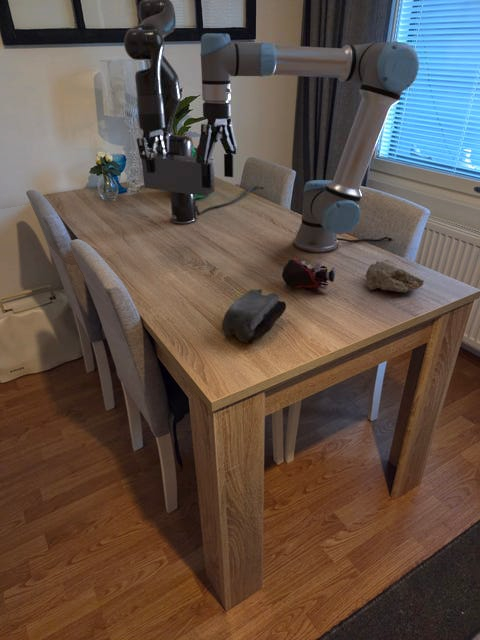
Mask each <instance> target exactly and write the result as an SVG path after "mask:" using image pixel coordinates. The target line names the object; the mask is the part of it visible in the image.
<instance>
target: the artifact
mask: <svg viewBox="0 0 480 640" xmlns="http://www.w3.org/2000/svg"><path fill="white" fill-rule="evenodd" d="M365 278H366V287H368V288H369V290H370V291H373V290H376V289H381V291H392V292H397V293H408V292H409V291H416V290H417V289H419V288H421V287H422V286H423V285H424V280H423V279H421V278H419V277H417V276H415V275H413V274H411V273H409V272H408V271H406V270H404V269H401V267H400V266H398V265H397V264H395V262H393V260H391V259H384V260H382V261H376V262H375V263H371V264H370V265H369V266H368V268H367V271H366V273H365Z"/></svg>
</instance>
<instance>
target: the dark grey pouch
mask: <svg viewBox="0 0 480 640" xmlns="http://www.w3.org/2000/svg"><path fill="white" fill-rule="evenodd" d="M262 292H263V290H262V289H250V290H248V291H247V292H246V293H245V294H243V295H242V296H241V297H239V298H238V299H237V300H235V301H234V302H233V303H232V304H231V305H230V306H229V307H228V309H227V310H226V312H225V314H224V316H223V319H222V323H221V331H222V332H223V333H224V334H225V335H227V336H234V335H235V337H236V338H237V340H239V341H240V342H244V343H247V344H249V345H251V344H253V343H254V342H255V341H257V340H258V339H260V338H262V337H264V336H265V335H266V334H267V333H269V332H270V331H271V330H272V328H273V327H274V325H275V323H276V322H277V320H278V319H279V318H280V317H281V316H283V314H284V313H285V312H286V310H287V304H286V303H287V302H285V301H280V298H279V294H278V293H276V292H275V293H274V292H273V293H269V294H262Z"/></svg>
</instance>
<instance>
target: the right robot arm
mask: <svg viewBox="0 0 480 640" xmlns="http://www.w3.org/2000/svg"><path fill="white" fill-rule="evenodd" d="M199 56H200V66H201V68H200V69H201V71H200V72H201V96H202V101H204V102H202V116H203V118H204V119H206V120H207V123H201V125H200V135H199V140H198V141H199V142H198V145H199V146H198V145H197V147H198V152H197V157H196V162H197V163H199V164H201V172H202V187H204V188H212V176H211V164H209V162H210V159H212V157H213V156H212V155H213V153H214V149H215V146H216V143H218V141H220V143H221V145H222V148H223V150H224V152H225V153H224V154H223V173H224V174H223V175H224V177H225V178H234V155H237V153H238V151H237V150H238V146H237V141H236V136H235V132H234V128H233V120H232V118H231V116H232V115H231V113H232V112H231V111H232V109H231V106H232V105H231V103H230V102H229V101H231V92H232V88H231V77H260V78H263V77H270V76H287V77H288V76H289V77H291V76H292V77H313V78H332V79H333V78H334V79H338V81H339V82H341V83H342V82H343V83H351V84H357V85H360V87H359V90H358V92H359V94H360V96H361V100H360V104H359V106H358V109H357V112H356V114H355V117H354V120H353V123H352V126H351V129H350V132H349V134H348V137H347V140H346V143H345V146H344V149H343V152H342V154H341V157H340V160H339V163H338V165H337V168H336V172H335V174H334V177H333V180H330V179H318V180H317V179H315V180H309V181H307V182H305V184H304V188H303V193H302V194H303V197H302V211H301V223H300V226H299V228H298V230H296V231H295V238H294V245H295V246H296V247H297V248H298V249H300V250H302V251H305V252H310V253H328V252H331V251H334V250H335V249H337V246H338V241H342V242H347V243H357V242H382V241H384V240H389V241H393V239H392V237H390V238H388V237H389V236H383V237H381V238H357V239H347V238H342V237H337V235H339V236H340V235H345V234H347V233H349V232H351V231H353V230H354V229H355V228H356V226H357V225H358V224H359V223H360V219H361V215H362V212H361V208H360V206H359V204H360V202H361V199H362V198H363V197H362V196H363V194H362V192H361V186H362V183H363V181H364V177H365V175H366V173H367V170H368V167H369V164H370V162H371V161H372V160H371V159H372V157H373V154H374V153H375V150H376V146H377V144H378V141H379V139H380V136H381V133H382V131H383V128H384V126H385V123H386V121H387V118H388V115H389V113H390V110H391V108H392V107H393V106H394V105H396V104H398V103H399V102H400V99H401V97H402V94H403V92H404V91H406V90H407V89H408V88H410V87H411V86H412V85H413V83H414V82H415V81H416V78H417V76H418V73H419V69H420V68H419V67H420V63H419V62H420V61H419V57H418V53H417V52H416V50H415V49H414V47H413V46H411V45H410V44H409V43H406V42H402V41H397V40H393V41H375V42H370V43H369V42H368V43H364V44H363V43H362V44H345V45H344V46H342V48H340V47H339V48H338V47H318V46H302V45H301V46H300V45H299V46H298V45H285V44H280V45H279V44H273V43H268V42H232V40H231V35H230V34H229V33H203V34H202V36H201V37H200V55H199ZM200 157H201V158H200Z"/></svg>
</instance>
